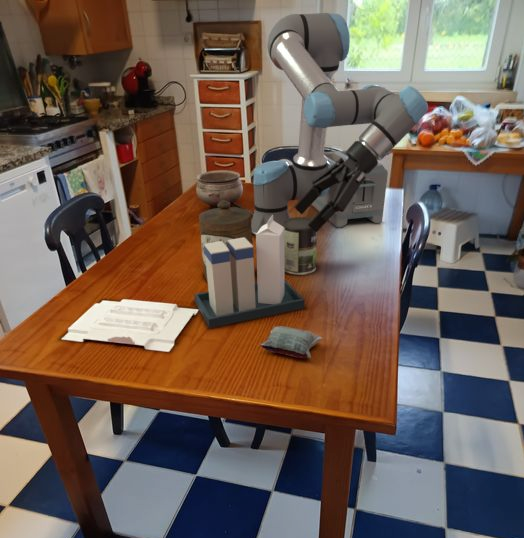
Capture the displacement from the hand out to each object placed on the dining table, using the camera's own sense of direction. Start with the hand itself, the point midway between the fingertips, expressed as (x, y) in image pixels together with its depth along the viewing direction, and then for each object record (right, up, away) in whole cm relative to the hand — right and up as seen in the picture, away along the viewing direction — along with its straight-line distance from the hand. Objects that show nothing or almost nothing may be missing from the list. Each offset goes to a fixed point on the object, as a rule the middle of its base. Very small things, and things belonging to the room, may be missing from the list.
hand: (304, 219), depth 119 cm
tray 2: (-43, -26, +2) cm, 50 cm away
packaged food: (-4, -32, -9) cm, 34 cm away
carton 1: (-21, -22, +6) cm, 31 cm away
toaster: (+22, +20, +68) cm, 74 cm away
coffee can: (+1, -7, +28) cm, 29 cm away
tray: (-14, -20, +9) cm, 26 cm away
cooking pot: (-28, +27, +82) cm, 91 cm away
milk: (-8, -19, +10) cm, 23 cm away
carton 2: (-15, -20, +8) cm, 27 cm away
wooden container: (-20, -10, +25) cm, 34 cm away
